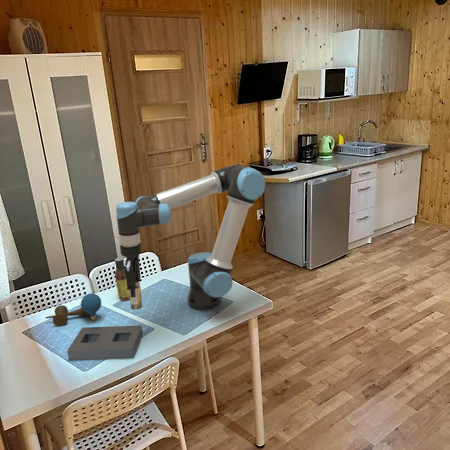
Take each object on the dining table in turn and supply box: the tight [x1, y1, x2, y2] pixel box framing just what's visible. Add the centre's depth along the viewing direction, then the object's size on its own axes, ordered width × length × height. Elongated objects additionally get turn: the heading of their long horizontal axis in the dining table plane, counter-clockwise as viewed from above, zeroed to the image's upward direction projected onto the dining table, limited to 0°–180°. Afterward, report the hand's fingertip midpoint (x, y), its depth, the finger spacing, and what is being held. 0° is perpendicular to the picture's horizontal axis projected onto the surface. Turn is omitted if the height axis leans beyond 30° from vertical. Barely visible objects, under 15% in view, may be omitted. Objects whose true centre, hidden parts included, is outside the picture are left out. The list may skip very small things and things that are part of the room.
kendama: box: [44, 304, 90, 327], centre depth 185 cm, size 6×10×20 cm
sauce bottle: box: [114, 257, 130, 302], centre depth 199 cm, size 6×6×20 cm
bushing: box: [129, 285, 143, 311], centre depth 165 cm, size 4×4×8 cm
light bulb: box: [80, 292, 102, 321], centre depth 183 cm, size 8×8×12 cm
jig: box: [66, 324, 143, 361], centre depth 164 cm, size 24×16×4 cm, turn 89°
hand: (136, 300), depth 166 cm, fingers closed on bushing, 4 cm apart
